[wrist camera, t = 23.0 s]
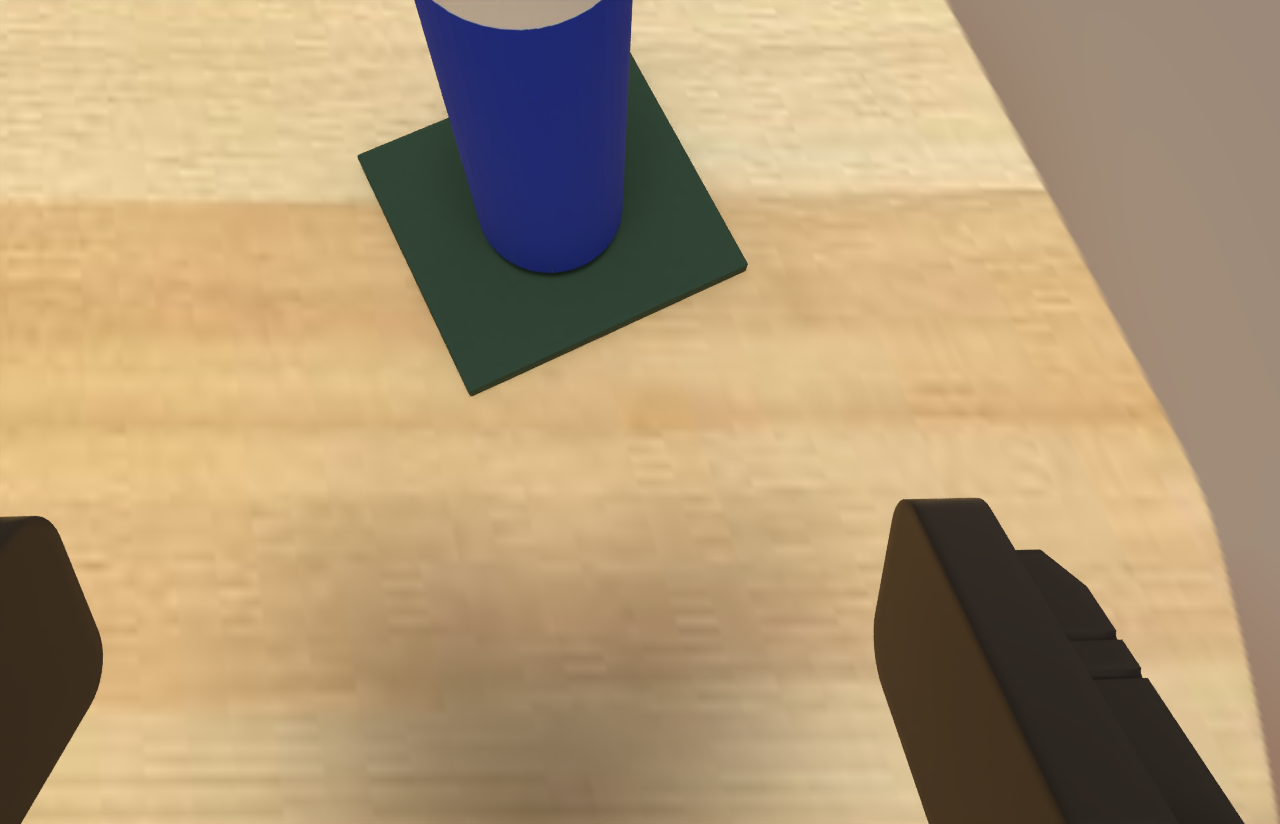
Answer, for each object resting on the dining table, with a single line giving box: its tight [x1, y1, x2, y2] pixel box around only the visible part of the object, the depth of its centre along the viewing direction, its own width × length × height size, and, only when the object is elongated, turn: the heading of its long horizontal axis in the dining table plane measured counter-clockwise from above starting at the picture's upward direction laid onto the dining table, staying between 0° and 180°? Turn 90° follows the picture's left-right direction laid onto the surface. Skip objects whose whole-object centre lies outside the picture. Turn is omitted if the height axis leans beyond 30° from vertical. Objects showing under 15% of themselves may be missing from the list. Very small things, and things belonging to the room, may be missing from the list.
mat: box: [358, 53, 748, 396], centre depth 34 cm, size 11×10×1 cm
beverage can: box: [415, 0, 632, 273], centre depth 27 cm, size 5×5×15 cm
